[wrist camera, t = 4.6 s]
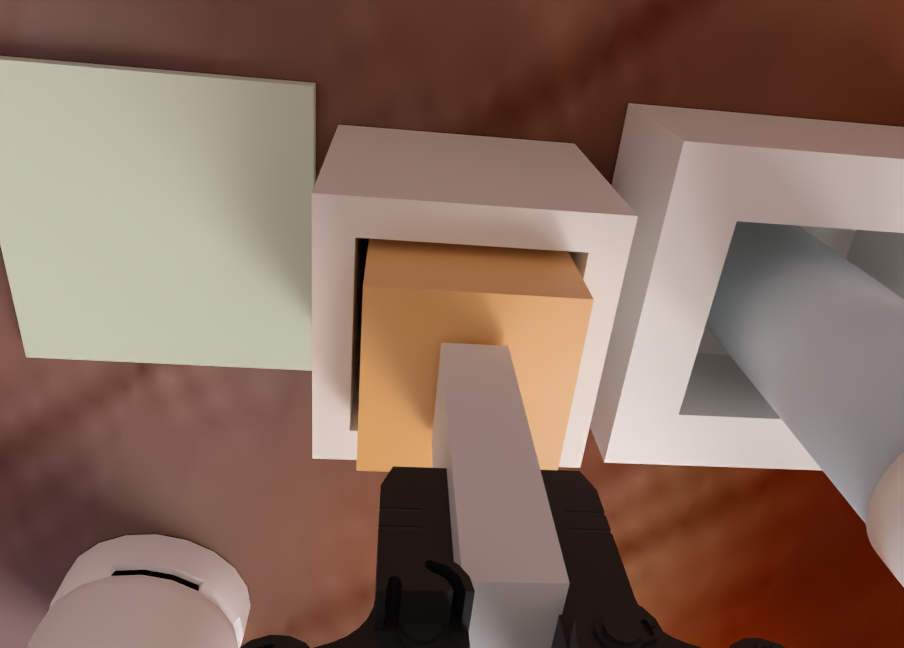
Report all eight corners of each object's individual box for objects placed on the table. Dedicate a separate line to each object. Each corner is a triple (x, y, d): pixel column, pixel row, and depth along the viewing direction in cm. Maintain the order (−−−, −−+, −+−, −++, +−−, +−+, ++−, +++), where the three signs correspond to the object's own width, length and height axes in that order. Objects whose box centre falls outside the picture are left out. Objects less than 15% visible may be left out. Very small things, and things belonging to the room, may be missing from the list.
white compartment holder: (932, 129, 23) (1125, 194, 17) (824, 390, 28) (943, 515, 22) (338, 78, 21) (311, 130, 15) (334, 367, 26) (312, 496, 20)
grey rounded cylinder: (839, 214, 23) (1204, 434, 13) (793, 338, 25) (1070, 614, 15) (701, 204, 23) (960, 423, 12) (667, 332, 25) (859, 611, 14)
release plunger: (534, 188, 22) (593, 299, 15) (513, 325, 24) (556, 477, 17) (377, 177, 22) (362, 285, 15) (371, 318, 24) (356, 470, 17)
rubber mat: (315, 83, 21) (313, 85, 21) (315, 362, 26) (314, 370, 25) (-32, 53, 20) (-43, 55, 20) (34, 348, 25) (26, 357, 24)
